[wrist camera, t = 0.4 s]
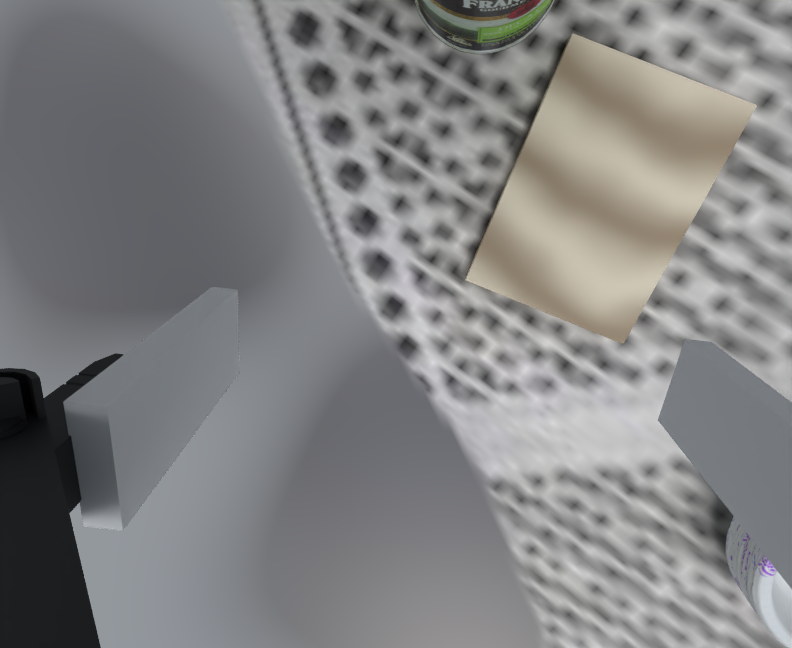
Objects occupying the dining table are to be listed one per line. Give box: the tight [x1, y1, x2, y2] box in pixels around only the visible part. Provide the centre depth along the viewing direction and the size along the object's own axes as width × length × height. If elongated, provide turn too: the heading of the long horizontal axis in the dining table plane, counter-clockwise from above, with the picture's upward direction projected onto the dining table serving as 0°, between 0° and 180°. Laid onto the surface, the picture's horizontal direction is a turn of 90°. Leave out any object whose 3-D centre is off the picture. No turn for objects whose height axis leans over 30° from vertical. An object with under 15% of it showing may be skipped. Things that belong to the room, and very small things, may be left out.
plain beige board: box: [466, 33, 757, 344], centre depth 37 cm, size 18×13×2 cm
